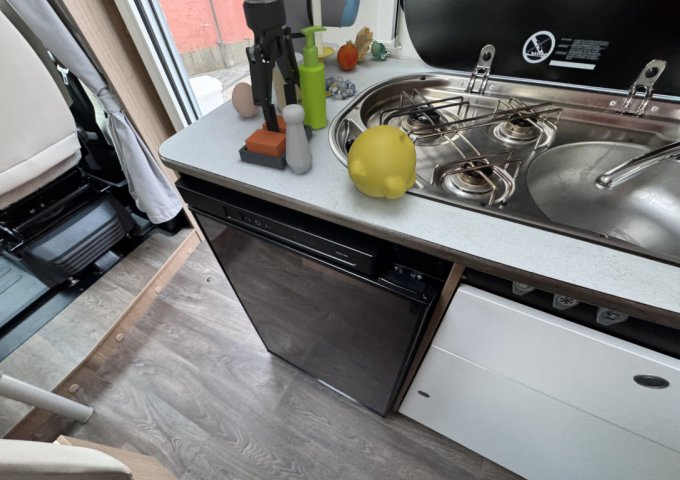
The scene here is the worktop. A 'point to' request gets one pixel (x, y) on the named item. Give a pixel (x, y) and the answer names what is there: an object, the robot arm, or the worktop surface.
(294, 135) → the salt shaker
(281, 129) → the loose pad
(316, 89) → the soap dispenser
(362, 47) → the cartoon bug character
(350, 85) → the bracelet
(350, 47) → the fruit
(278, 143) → the seated pad
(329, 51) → the yellow disc white stick
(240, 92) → the egg
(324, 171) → the worktop surface
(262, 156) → the pad frame
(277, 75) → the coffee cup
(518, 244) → the worktop surface
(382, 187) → the sculpture
